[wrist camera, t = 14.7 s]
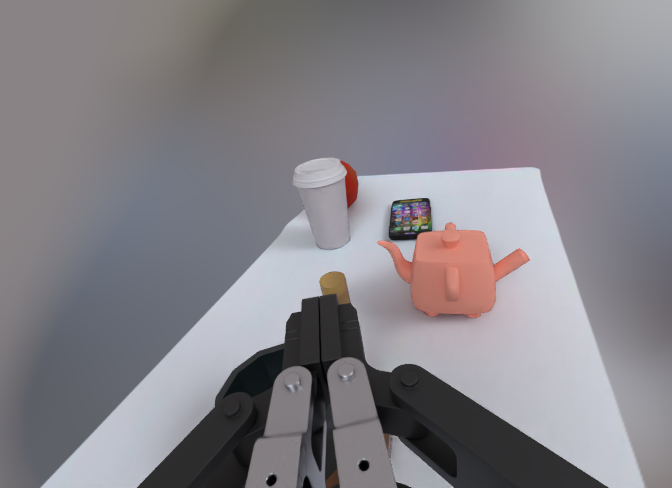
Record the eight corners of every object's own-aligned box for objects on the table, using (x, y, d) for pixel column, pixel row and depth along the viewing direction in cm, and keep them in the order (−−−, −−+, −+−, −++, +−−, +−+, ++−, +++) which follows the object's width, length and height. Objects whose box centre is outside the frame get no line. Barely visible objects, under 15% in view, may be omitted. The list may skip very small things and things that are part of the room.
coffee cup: (298, 247, 67) (278, 173, 60) (330, 224, 73) (315, 154, 66) (337, 258, 61) (320, 178, 54) (367, 233, 67) (355, 157, 60)
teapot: (463, 260, 54) (462, 201, 49) (529, 301, 45) (537, 232, 40) (384, 297, 51) (375, 237, 45) (437, 350, 41) (433, 281, 36)
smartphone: (387, 236, 63) (392, 200, 75) (387, 241, 63) (392, 204, 76) (432, 233, 61) (429, 197, 73) (433, 238, 61) (430, 201, 73)
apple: (367, 210, 76) (359, 159, 70) (322, 222, 75) (310, 171, 69) (355, 194, 84) (347, 147, 78) (314, 205, 83) (303, 158, 78)
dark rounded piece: (191, 598, 25) (73, 494, 18) (212, 392, 41) (154, 288, 33) (425, 511, 27) (410, 383, 19) (359, 346, 43) (337, 238, 35)
